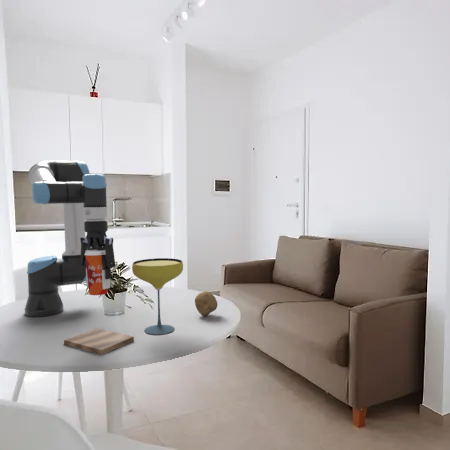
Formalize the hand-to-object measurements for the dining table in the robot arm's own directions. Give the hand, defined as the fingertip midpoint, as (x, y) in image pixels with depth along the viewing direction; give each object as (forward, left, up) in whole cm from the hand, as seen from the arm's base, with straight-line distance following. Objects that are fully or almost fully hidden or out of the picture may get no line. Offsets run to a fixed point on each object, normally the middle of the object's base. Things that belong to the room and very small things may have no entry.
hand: (98, 287), depth 140 cm
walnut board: (+3, -3, -18) cm, 18 cm away
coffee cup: (0, 0, -2) cm, 2 cm away
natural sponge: (+17, +40, -18) cm, 47 cm away
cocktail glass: (+12, +17, -18) cm, 28 cm away
